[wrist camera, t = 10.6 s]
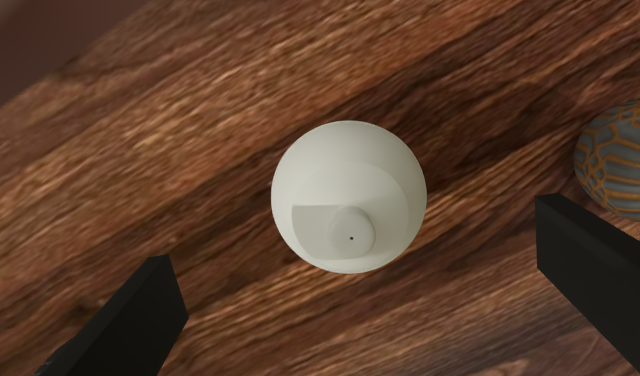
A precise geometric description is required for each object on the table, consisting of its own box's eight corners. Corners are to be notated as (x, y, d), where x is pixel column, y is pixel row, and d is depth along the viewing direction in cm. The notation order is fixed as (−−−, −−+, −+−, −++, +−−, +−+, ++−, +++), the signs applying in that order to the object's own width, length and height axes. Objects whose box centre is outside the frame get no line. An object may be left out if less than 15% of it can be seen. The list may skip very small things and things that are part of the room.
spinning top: (312, 229, 29) (297, 343, 18) (269, 128, 27) (220, 183, 15) (417, 193, 28) (474, 290, 16) (381, 85, 26) (417, 109, 14)
